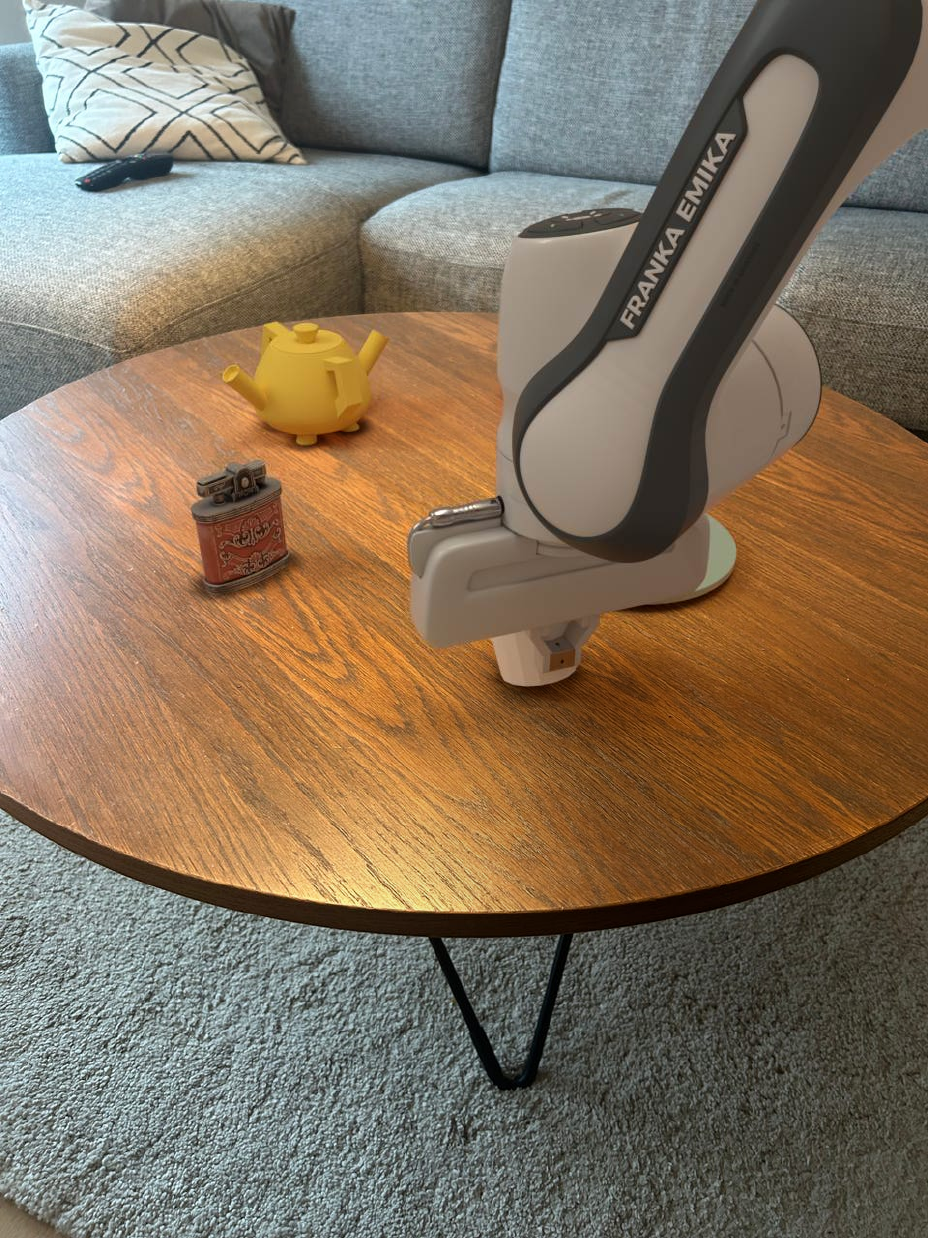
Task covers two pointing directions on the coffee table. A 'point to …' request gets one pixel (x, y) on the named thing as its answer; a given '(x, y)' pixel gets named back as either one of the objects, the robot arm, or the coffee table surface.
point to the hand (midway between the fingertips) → (556, 665)
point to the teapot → (309, 380)
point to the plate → (714, 561)
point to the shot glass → (526, 658)
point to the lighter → (240, 527)
